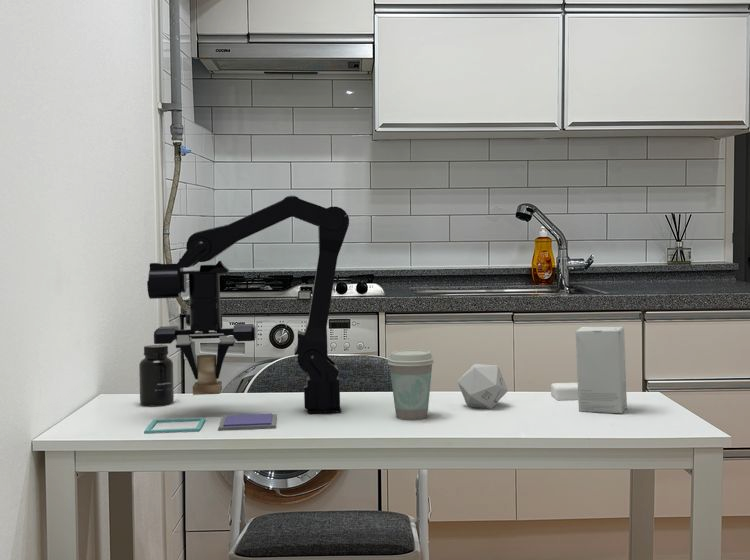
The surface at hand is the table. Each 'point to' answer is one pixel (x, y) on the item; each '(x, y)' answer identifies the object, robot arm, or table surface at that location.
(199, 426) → the teal flat square frame
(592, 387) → the skincare box
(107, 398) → the table surface
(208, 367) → the stamp
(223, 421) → the ink pad
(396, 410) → the coffee cup
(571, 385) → the soap
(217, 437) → the table surface
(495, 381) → the die
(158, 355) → the supplement bottle
